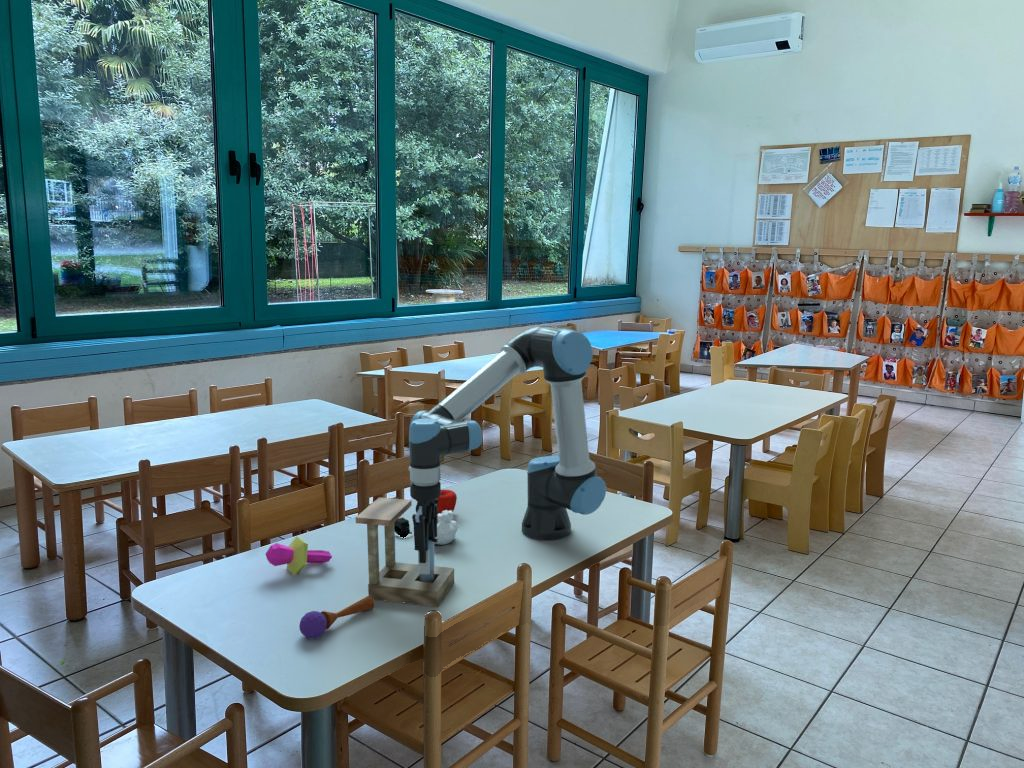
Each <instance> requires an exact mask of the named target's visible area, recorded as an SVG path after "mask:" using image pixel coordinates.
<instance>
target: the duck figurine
mask: <svg viewBox="0 0 1024 768" xmlns="http://www.w3.org/2000/svg"><path fill="white" fill-rule="evenodd" d="M453 519H454V511H452V510H450V511H447V510H445V511H442V513H441V514H440V513H439V514H437V537H435V539H438V542H437V543H436V542H434V545H443V546H444V545H448V544H450V543H451V542H452V541H453V540H454V539H455V538H456V534H457V531H458V529H459V524H458V522H457V521H456V520H453Z"/></svg>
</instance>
